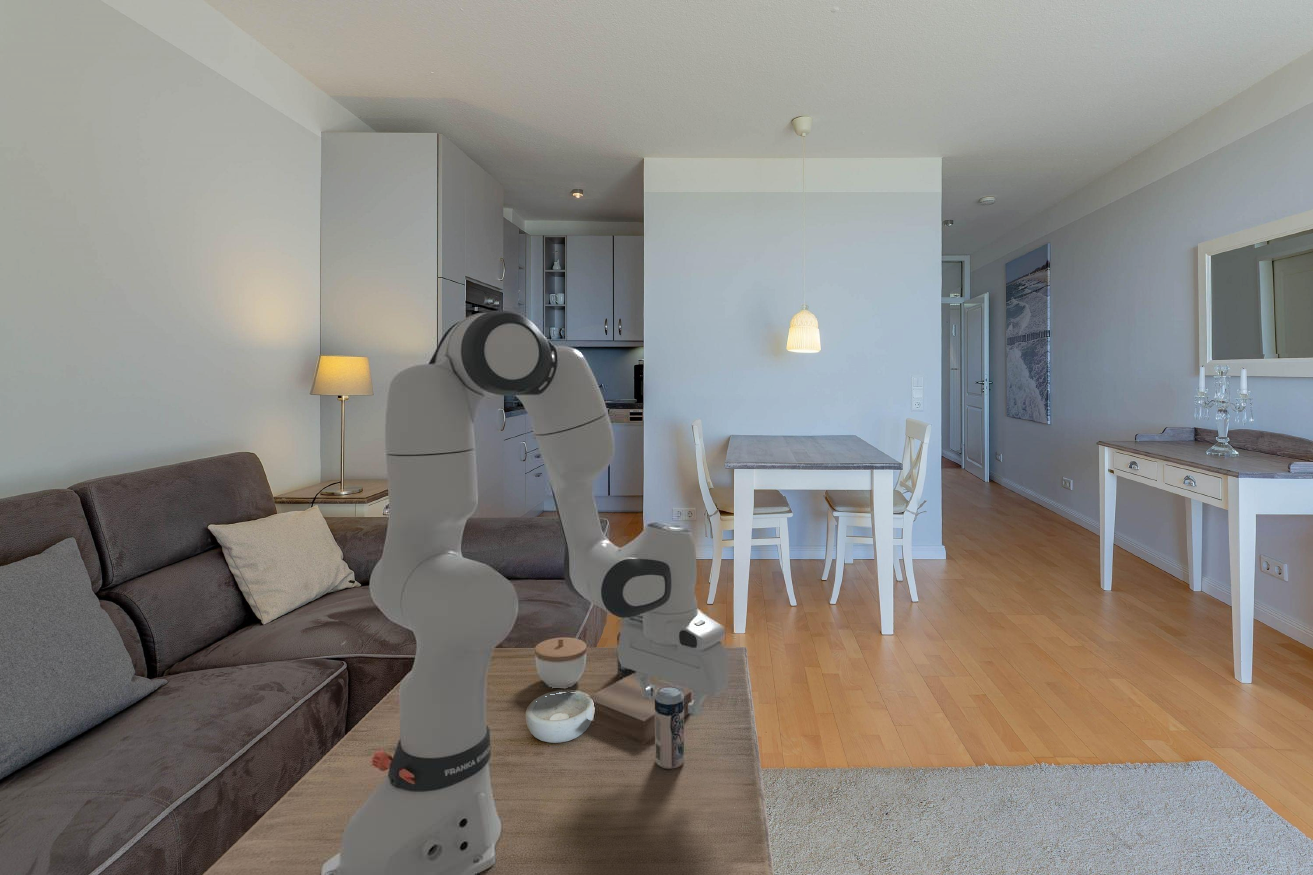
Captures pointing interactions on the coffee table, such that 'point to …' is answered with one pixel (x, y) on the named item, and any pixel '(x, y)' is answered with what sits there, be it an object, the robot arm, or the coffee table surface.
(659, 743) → the beer can
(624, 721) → the walnut block
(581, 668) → the lidded jar
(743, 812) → the coffee table surface
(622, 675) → the supplement bottle
